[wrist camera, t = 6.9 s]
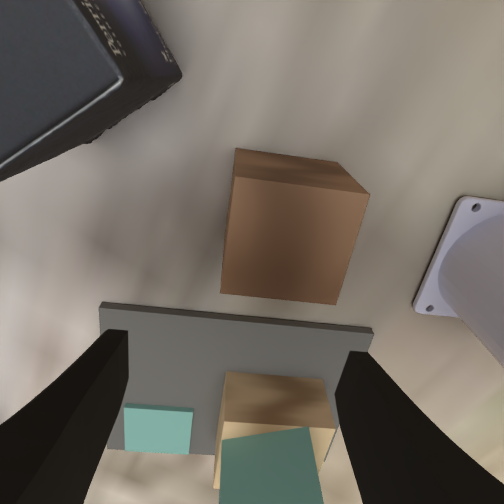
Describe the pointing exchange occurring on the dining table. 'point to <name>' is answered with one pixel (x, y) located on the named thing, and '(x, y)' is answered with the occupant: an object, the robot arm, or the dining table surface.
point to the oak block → (273, 411)
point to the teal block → (270, 469)
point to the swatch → (157, 428)
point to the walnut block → (290, 227)
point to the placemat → (220, 359)
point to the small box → (73, 74)
